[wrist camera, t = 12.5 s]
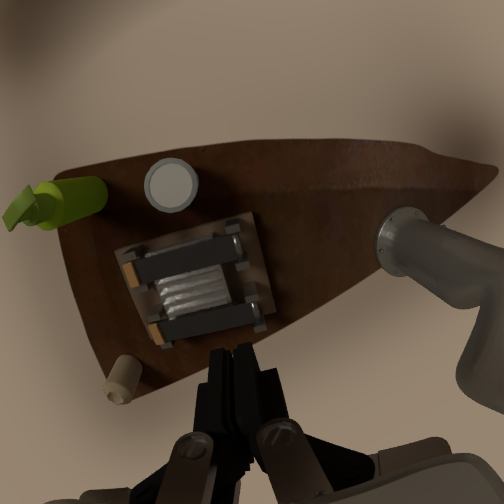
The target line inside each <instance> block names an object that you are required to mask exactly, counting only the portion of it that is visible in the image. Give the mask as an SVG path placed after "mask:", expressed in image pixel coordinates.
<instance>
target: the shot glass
mask: <svg viewBox="0 0 504 504" xmlns="http://www.w3.org/2000/svg"><path fill="white" fill-rule="evenodd" d="M198 186H199V179H198V175H197V173H196V172H195V170H194V169H193V168H192V167H191V166H190V165H189V164H187V163H186V162H184V161H183V160H181V159H175V158H167V159H163V160H160V161H159V162H157V163H156V164H154V165H153V166H152V167H151V168H150V170H149V172H148V173H147V175H146V178H145V184H144V188H145V194H146V197H147V199H148V200H149V202H150V203H151V205H152V206H154V207H155V208H157V209H158V210H160V211H163V212H168V213H173V212H178V211H181V210H183V209H184V208H186V207H187V206H189V205H190V203H191V202H192V200H193V199H194V197H195V196H196V193H197V190H198Z"/></svg>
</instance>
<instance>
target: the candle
mask: <svg viewBox="0 0 504 504" xmlns="http://www.w3.org/2000/svg"><path fill="white" fill-rule="evenodd" d="M142 370H143V367H142V364H141V363H140V361H139V360H138V359H136V358H135V357H133V356H131V355H121V356H120V357H119V358H118V359H117V361H116V363H115V364H114V366H113V368H112V370H111V372H110V374H109V376H108V378H107V380H106V383H105V384H104V387H103V390H104V393H105V394H106V396H107V397H108V399H109V400H110V401H112V402H113V403H114V404H116V405H120V404H128V403H130V402H131V401H132V398H133V396H134V393H135V390H136V387H137V385H138V382H139V379H140V376H141V374H142Z"/></svg>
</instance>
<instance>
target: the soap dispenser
mask: <svg viewBox="0 0 504 504" xmlns="http://www.w3.org/2000/svg"><path fill="white" fill-rule="evenodd" d="M107 199H108V189H107V186H106V184H105V183H104V181H103V180H102V179H100V178H99V177H95V176H91V177H81V178H71V179H63V180H55V181H48V182H43V183H41V184H39V185H38V186H37V187H36V188H35V189H34V191H32V189H31V187H30V185H28V186H27V187H26V188H25V189H24V190H23V191H22V192H21V193H20V194H19V195H18V196H17V197H16V198H15V199H14V201H13V202H12V203H11V204H10V206H9V207H8V209H7V210H6V212H5V213H4V215H3V217H2V218H3V220H4V222H5V224H6V227H7V229H8V231H9V232H10V231H12V230H13V229H14V228H15V226H16V225H17V224H18V223H20V222H24V223H25V224H26V225H27V226H34V225H37V226H39V227H40V228H41V229H43V230H53V229H55V228H58V227H60V226H63V225H65V224H68V223H70V222H73V221H75V220H78V219H80V218H83V217H86V216H88V215H91V214H94V213H96V212H99V211H100V210H102V209H103V208H104V206H105V205H106V202H107Z"/></svg>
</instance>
